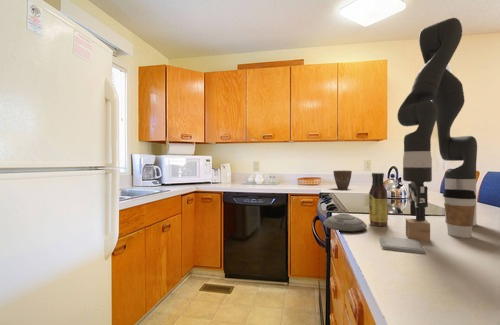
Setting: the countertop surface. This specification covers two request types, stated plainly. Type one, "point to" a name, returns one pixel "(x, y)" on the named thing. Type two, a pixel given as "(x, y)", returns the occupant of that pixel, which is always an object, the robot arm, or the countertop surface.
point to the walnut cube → (418, 230)
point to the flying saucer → (344, 223)
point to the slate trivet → (401, 244)
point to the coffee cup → (459, 212)
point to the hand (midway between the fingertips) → (417, 217)
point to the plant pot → (342, 179)
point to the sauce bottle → (378, 201)
